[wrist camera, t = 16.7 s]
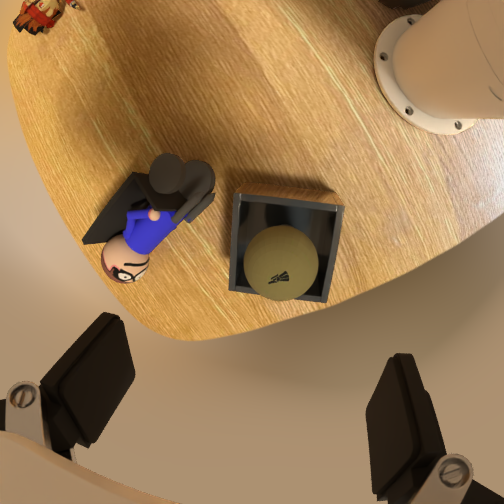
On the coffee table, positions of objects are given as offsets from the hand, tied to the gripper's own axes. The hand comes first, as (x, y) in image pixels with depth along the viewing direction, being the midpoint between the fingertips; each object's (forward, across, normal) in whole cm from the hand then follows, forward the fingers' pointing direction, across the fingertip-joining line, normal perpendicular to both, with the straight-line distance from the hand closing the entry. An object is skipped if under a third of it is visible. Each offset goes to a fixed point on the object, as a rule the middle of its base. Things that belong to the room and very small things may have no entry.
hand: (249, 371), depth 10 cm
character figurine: (+21, +13, +1) cm, 25 cm away
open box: (+21, 0, +2) cm, 21 cm away
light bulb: (+21, 0, +2) cm, 21 cm away
